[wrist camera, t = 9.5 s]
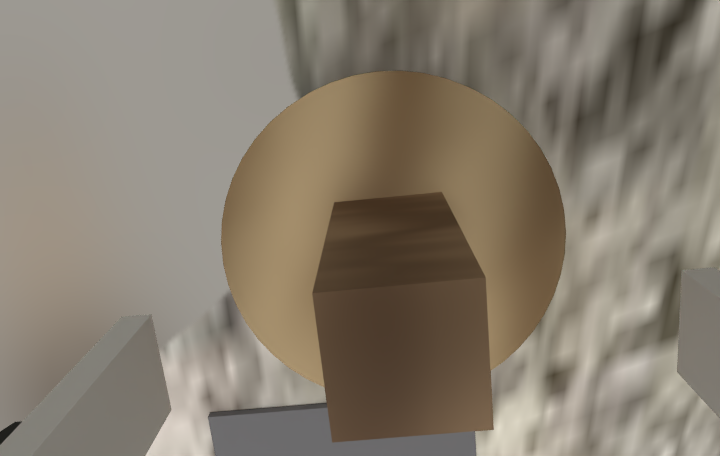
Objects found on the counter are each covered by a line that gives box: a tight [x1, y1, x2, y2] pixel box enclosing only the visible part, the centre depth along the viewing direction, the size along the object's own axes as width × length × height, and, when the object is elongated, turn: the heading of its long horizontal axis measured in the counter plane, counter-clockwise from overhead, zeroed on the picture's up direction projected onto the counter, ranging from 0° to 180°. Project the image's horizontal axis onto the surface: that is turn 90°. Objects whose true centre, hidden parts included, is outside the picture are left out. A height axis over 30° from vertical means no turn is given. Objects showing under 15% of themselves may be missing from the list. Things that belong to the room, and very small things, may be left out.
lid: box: [221, 71, 566, 443], centre depth 20 cm, size 13×13×10 cm
